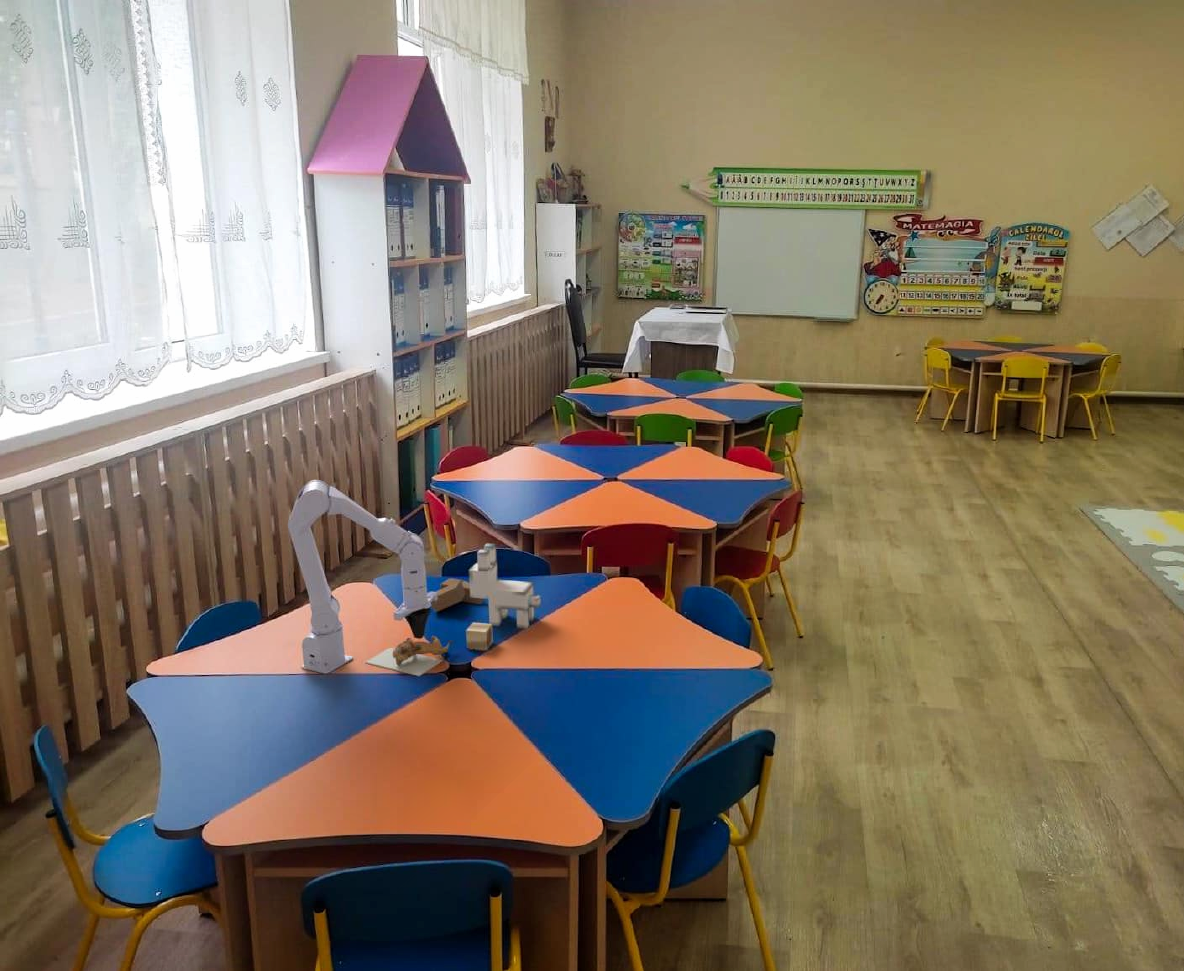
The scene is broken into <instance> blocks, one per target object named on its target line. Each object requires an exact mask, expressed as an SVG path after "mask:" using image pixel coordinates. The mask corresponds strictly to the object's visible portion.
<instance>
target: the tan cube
mask: <svg viewBox="0 0 1184 971" xmlns="http://www.w3.org/2000/svg"><path fill="white" fill-rule="evenodd" d="M465 636H466V637H465V638H466V649H467V648H469V649H468V650H473V649H475V651H485V650H486V651H487V650H488V649H489V648H490V647H491V646H492V644H493V643H494V640H493V639H494V637H493V636H494V635H493V626H492V624H490V623H485V622H483V623H482V622H472V623H471V624H470V625H469V626H468V627H467V629H466V630H465ZM489 646H490V647H489Z"/></svg>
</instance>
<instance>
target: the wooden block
mask: <svg viewBox="0 0 1184 971" xmlns="http://www.w3.org/2000/svg"><path fill="white" fill-rule="evenodd" d="M435 592H436V593H437V599H438V600H436V601H432V602H430V603H431V607H432V609H433V611H434V612H435V613H438V612H441V611H442V610H444V609H446V608H449V607H451V606H453V605H455V604H456V605H457V604H458V603H460V602H465V603H471V604H477V605H478V604H479V605H481V604H483V599H484V598H472V597H470V583H469V581H466V580H463V579H457V578H451V577H450V578H448V579H446V580H444V581H443V582H442V583H440V589H439V590H437V591H435Z"/></svg>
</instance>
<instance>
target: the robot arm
mask: <svg viewBox="0 0 1184 971" xmlns="http://www.w3.org/2000/svg"><path fill="white" fill-rule="evenodd" d="M327 511H328V514H327V515H328V516H332V515H340V514H341V515H343V516H344V517H346V518H348V519H350V520H351V521H353V522H355V523H356V524H358V525H360V526H361V527H363V528H366V529H367V530H369V531H370V536H371V537H370V538H371V539H373V540H374V541H376V542H377V543H379V544H380V545H382V546H384V547H385V548H387V549H388V550H390V551H392V552H393V553H396V554H399V555H398V556H399V559H400V560H401V568H400V574H401V575H400V576H401V585H402V597H403V602H402V603H401V605H400V606H399V607H398V608H397V609H396V610H395V611H393V619H394V620H395V621H398V622H402V621H403V620H404V619H405V620H406V622H407V624H408V625H409V627H410V630H411V632H412V635H413V638H415V639H419V640H421V639H423V638H424V635H425V629H426V626H427V621H428V618H429V616H430V614H431V612H432V610H431V608H430V607H432V605H431V603H430V602H432V601H436V600H438V599H437V593H436V591H429V592H428V588H427V586H428V584H427V574H426V573H427V572H426V566H425V556H426V551H425V547H424V542H423V540H422V538H421V537H420V536H419V535H418V534H417V533H413V532H411V531H410V530H408V531H407V530H406V529H404V528H403V527H401V526H399V525H398V524H396V520H395V519H393V518H390V519H388V517H380V518H378V517H376V516H374V515H373V514H372V513H370V512H369V511H367V510H366V509H365V508H364V507H362V506H360V505H359V504H358V503H356V502H355V501H354V500H352V499H351V498H350V497H349V496H347V495H345V494H344V493H342V492H341V491H340V490H338V488H335V487H333V486H332V485H331V486H329V485H328V483H326V482H325V481H322V480H319V479H312V480H310V481H308V482H307V483H306V484H305V485H304V486H303V487H302V489H301V490H299V492H298V494H297V497H296V500H295V501H294V505H293V508H292V511H291V513H290V515H289V518H288V522H287V529H288V532H289V535H290V539H291V541H292V544H293V548H294V551H295V555H296V558H297V562H298V563H299V564H298V565H299V567H300V570H301V574H302V577H303V581H304V583H305V587H306V591H307V593H308V600H309V608H310V611H311V617H310V625H311V626H310V632H309V633H308V635H307V636H306V637H304V639H303V640H302V644H301V647H302V658H303V664H302V665H301V668H302V669H305V670H309V671H313V672H317V673H321V674H329V673H331V672H334V670H336V669H338V668H339V667H341V666H343V665H345V664H347V663H348V662H351V661H352V660H353V659H354V657H353V656H351V655H347V654H346V653H345V642H344V631H343V623H342V622H341V620H340V619H339V618H340V617H339V612H340V606H341V605H340V602H339V600H338V598H336V597H335V596H334V595H333V593H332V589H331V588H330V586H329V583H328V580H327V578H326V575H325V571H324V568H323V565H322V560H321V557H320V553H319V550H318V547H317V544H316V540H315V538H314V533H313V531H312V525H313V524H314V522H315V521H316V520H317V519H319V517H321V516H323V515H324V514H325V513H326V512H327Z"/></svg>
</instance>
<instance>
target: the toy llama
mask: <svg viewBox="0 0 1184 971" xmlns="http://www.w3.org/2000/svg"><path fill="white" fill-rule="evenodd" d="M476 555H477V560H476V561H477V562H476V563H474V564H473V565H472V566H471V567H470V568H469V569H468V583H470V597H472V598H483V599H487V600H488V616H489V618H488V621H489V624H492V627H500V626H501V624H503V620H506V619H507V617H508V616H509V612H508V610H512V611H516V629H525V630H527V629H528V627H529V626H530V622H533V621H534V620H535V617H536V616H535V615H536V613H535V609H538V608H539V607H540V606H541V595H540V594H535V585H534V584H535V583H534V581H533V582H532V581H519V580H507V579H498V559H497V543H491V542H490V543H489V542H488V543H485V545H484V546H483V548H482V549H479V550H478V551H476Z"/></svg>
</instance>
